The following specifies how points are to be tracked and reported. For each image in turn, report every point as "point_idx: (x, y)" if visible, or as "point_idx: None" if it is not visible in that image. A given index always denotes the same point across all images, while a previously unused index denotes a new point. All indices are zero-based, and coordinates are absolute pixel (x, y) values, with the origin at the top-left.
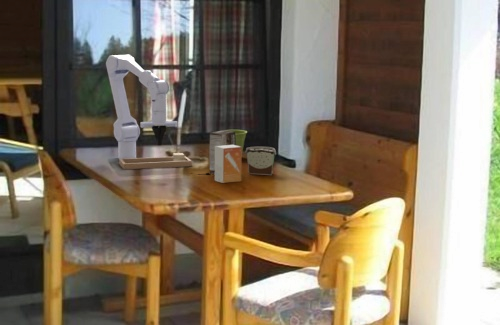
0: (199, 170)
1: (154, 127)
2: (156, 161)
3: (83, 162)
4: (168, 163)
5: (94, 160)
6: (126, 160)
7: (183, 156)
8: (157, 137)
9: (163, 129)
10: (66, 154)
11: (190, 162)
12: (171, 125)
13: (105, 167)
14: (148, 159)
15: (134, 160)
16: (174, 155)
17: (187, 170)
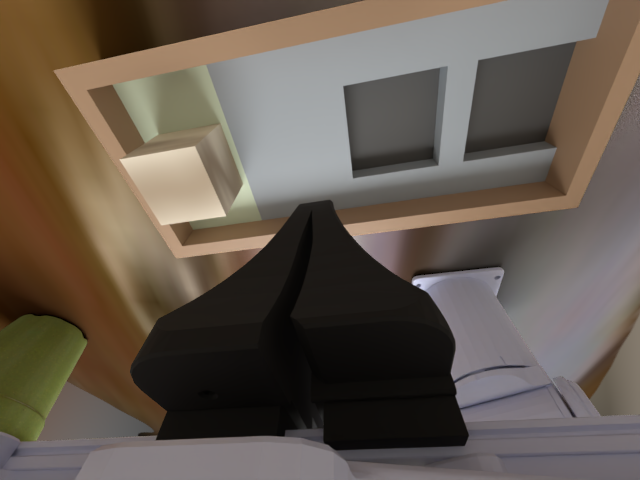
0: (32, 23)
1: (416, 403)
2: (337, 212)
3: (628, 303)
4: (244, 27)
5: (562, 329)
6: (528, 194)
7: (135, 152)
8: (340, 237)
9: (203, 323)
10: (591, 396)
11: (72, 66)
12: (57, 462)
13: (612, 192)
14: (386, 214)
15: (474, 201)
16: (198, 147)
17: (122, 33)
